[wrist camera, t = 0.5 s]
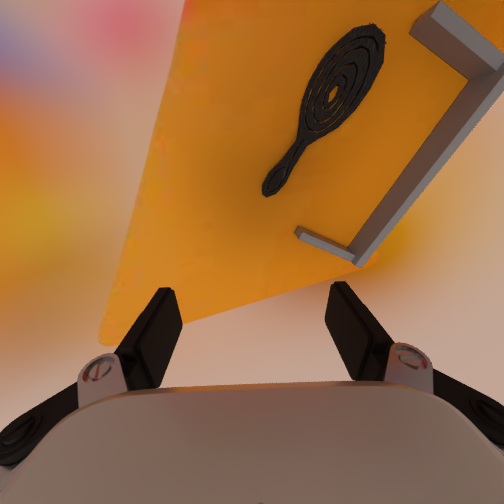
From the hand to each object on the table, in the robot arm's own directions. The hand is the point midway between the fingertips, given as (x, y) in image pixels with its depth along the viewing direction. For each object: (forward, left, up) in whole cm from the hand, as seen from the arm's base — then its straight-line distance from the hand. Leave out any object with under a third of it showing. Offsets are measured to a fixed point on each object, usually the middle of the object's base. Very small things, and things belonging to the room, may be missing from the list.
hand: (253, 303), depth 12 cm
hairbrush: (-15, +4, -28) cm, 32 cm away
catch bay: (-15, +17, -27) cm, 35 cm away
